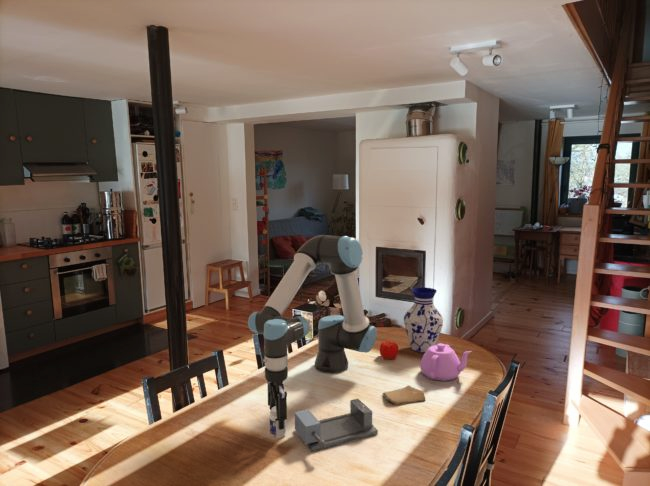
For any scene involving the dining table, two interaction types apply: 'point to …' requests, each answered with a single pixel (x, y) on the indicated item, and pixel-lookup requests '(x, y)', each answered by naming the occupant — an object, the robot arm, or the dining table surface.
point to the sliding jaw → (308, 427)
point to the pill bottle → (273, 421)
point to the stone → (404, 395)
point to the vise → (346, 427)
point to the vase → (423, 320)
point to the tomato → (389, 350)
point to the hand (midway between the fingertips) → (277, 432)
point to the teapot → (442, 363)
